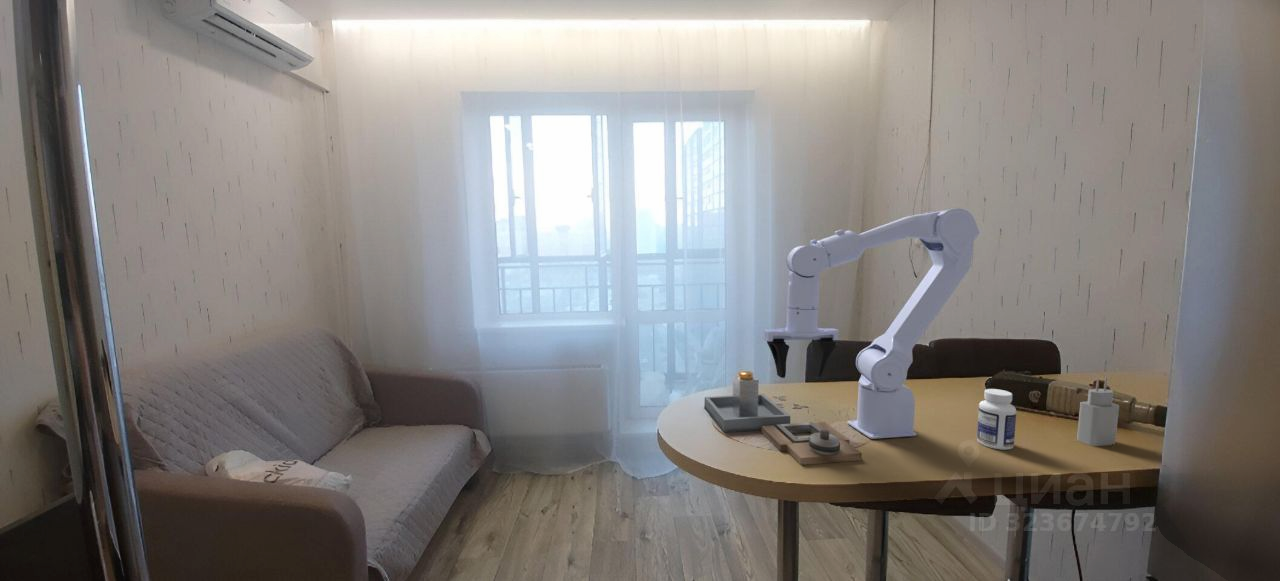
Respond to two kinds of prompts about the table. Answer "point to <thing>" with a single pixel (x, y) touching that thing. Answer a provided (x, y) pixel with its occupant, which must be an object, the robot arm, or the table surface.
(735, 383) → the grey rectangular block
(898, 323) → the robot arm
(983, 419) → the pill bottle
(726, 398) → the tray
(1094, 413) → the power adapter
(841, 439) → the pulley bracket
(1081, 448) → the table surface
